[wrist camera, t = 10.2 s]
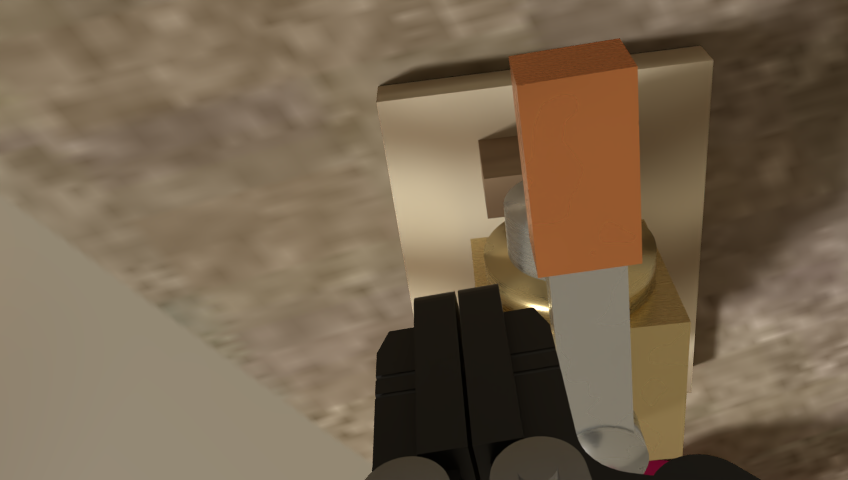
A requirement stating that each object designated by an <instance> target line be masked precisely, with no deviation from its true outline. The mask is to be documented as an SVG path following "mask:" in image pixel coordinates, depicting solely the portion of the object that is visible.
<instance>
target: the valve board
mask: <svg viewBox="0 0 848 480" xmlns="http://www.w3.org/2000/svg"><path fill="white" fill-rule="evenodd" d="M630 55H631V57H632V58H633V60H634V61H635V63H636V65H637V66H638V104H639V144H640V185H641V219H644V220H645V222H646V224H647V227H648V229H649V230H650V231H651V233H652V234H653V236H654V238H655V241H656V246H657V249H658V251H659V253H660V255H661V257H662V259H663V262H664V264H665V266H666V268H667V270H668V273H669V275H670V277H671V279H672V281H673V284H674V286H675V288H676V290H677V292H678V295H679V297H680V299H681V301H682V303H683V306H684V308H685V310H686V312H687V314H688V316H689V319H690V321H691V330H690V345H689V361H688V377H687V393H690V392H691V386H692V371H693V356H694V342H695V327H696V312H697V297H698V282H699V267H700V252H701V237H702V223H703V208H704V193H705V178H706V163H707V148H708V133H709V119H710V104H711V89H712V74H713V59H712V58H711V57H710V56H709V54H708V53H707V52H706V51H705V50H704V49H703V48H702V46H694V47H686V48H678V49H670V50H662V51H654V52H646V53H638V54H630ZM376 103H377V109H378V114H379V120H380V126H381V132H382V137H383V143H384V149H385V155H386V160H387V166H388V172H389V177H390V183H391V189H392V195H393V200H394V206H395V212H396V218H397V223H398V229H399V235H400V241H401V246H402V252H403V258H404V264H405V269H406V275H407V281H408V287H409V292H410V298H411V304H412V310H413V315H414V298H417V297H423V296H429V295H435V294H441V293H446V292H452V291H455V294H456V297H457V301H458V290H463V289H468V288H474V287H475V279H474V269H473V260H472V250H471V241H470V239H474V238H483V237H489V236H490V234H491V233H492V232H493V231H494V230H495V229H496V228H497V227H498V226H499V225H500V224H502V223H503V222H504V221H505V215H504V199H505V197H506V195H507V193H508V192H509V191H510V190H511V189H512V188H513V187H514V186H515V185H516V184H518V183H519V182H521V181H523V177H522V169H521V160H520V151H519V142H518V134H517V125H516V116H515V108H514V99H513V90H512V81H511V73H510V70H504V71H496V72H488V73H480V74H472V75H464V76H457V77H449V78H441V79H433V80H425V81H417V82H409V83H401V84H393V85H386V86H378V92H377V101H376ZM458 306H459V301H458Z"/></svg>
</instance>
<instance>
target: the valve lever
mask: <svg viewBox="0 0 848 480" xmlns="http://www.w3.org/2000/svg"><path fill="white" fill-rule="evenodd" d="M509 64H510V73H511V81H512V90H513V99H514V108H515V116H516V125H517V134H518V142H519V151H520V160H521V169H522V177H523V186H524V195H525V204H526V212H527V221H528V230H529V238H530V243H531V248H532V253H533V257H534V262H535V266H536V271H537V275H538V278H543V277H546V285H547V295H548V304H549V314H550V323H551V331H552V335H553V339H554V343H555V348H556V351H557V356H558V360H559V364H560V369H561V372H562V376H563V380H564V385H565V389H566V393H567V397H568V401H569V405H570V409H571V414H572V418H573V422H574V426H575V430H576V434H577V437H578V440H579V442H580V444H581V446H582V447H583V449H584V450H585V451H586V452H587V453H588V454H589V455H590V456H591V457H592V458H593V459H595V460H596V461H598V462H599V463H601V464H603V465H605V466H607V467H610V468H613V469H616V470H619V471H624V472H630V473H637V474H644V472H645V471H646V469H647V466H648V463H649V453H648V450H647V447H646V444H645V440H644V437H643V434H642V431H641V428H640V425H639V421H638V418H637V415H636V413H635V412H634V410H633V392H632V364H631V337H630V310H629V282H628V266H629V265H636V264H642V225H641V185H640V144H639V104H638V66H637V65H636V63H635V61H634V60H633V58H632V57H631V55H630V54H629V52H628V50H627V49H626V47H625V46H624V44H623V43H622V41H621V40H620V38H619V39H613V40H606V41H600V42H594V43H588V44H582V45H576V46H570V47H563V48H557V49H551V50H545V51H539V52H533V53H527V54H520V55H514V56H509Z"/></svg>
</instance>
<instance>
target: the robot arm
mask: <svg viewBox="0 0 848 480" xmlns="http://www.w3.org/2000/svg"><path fill="white" fill-rule="evenodd" d="M458 301H459V306H458ZM458 301H457V297H456V294H455V291H452V292H446V293H441V294H435V295H429V296H423V297H417V298H414V327H413V328H407V329H402V330H396V331H390V332H389V333H388V335H387V336H386V338H385V340H384V342H383V344H382V345H381V347H380V349H379V351H378V352H377V362H376V379H377V381H376V389H375V396H376V399H375V416H374V443H373V467H372V472H371V473H370V474H369V475H368V477H367V478H366V479H365V480H760V479H759V478H757V477H755V476H753V475H752V474H750V473H748V472H747V471H745V470H743V469H741V468H740V467H738V466H736V465H735V464H733V463H731V462H729V461H727V460H724V459H721V458H718V457H715V456H710V455H700V454H695V455H686V456H681V457H678V458H675V459H672V460H670V461H669V462H667V463H665V464H664V465H662V466H661V467H660V468H659V469H658V470H657V471H656V472H655V474H654V475H645V474H637V473H630V472H624V471H619V470H616V469H613V468H610V467H607V466H605V465H603V464H601V463H599V462H598V461H596V460H595V459H593V458H592V457H591V456H590V455H589V454H588V453H587V452H586V451H585V450H584V449H583V447H582V446H581V444H580V442H579V440H578V437H577V434H576V430H575V426H574V422H573V418H572V414H571V409H570V405H569V401H568V397H567V393H566V389H565V385H564V380H563V376H562V372H561V369H560V364H559V360H558V356H557V351H556V348H555V343H554V339H553V335H552V331H551V327H550V324H549V323H548V322H547V321H546V320H545V319H544V318H543V317H542V316H541V315H540V314H539V313H538V311H537V310H536V309H535V308H534V307H530V308H524V309H519V310H513V311H507V312H503V307H502V301H501V296H500V291H499V285H498V283H497V284H492V285H486V286H480V287H474V288H468V289H463V290H458Z"/></svg>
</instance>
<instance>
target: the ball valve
mask: <svg viewBox="0 0 848 480" xmlns="http://www.w3.org/2000/svg"><path fill="white" fill-rule="evenodd" d="M504 215H505V221H504V222H503V223H502V224H500V225H499V226H498V227H497V228H496V229H495V230H494V231H493V232H492V233H491V234H490V236H489V237H483V238H474V239H470V241H471V250H472V260H473V269H474V279H475V287H480V286H486V285H492V284H497V283H498V285H499V291H500V296H501V301H502V307H503V312H507V311H513V310H519V309H524V308H530V307H534V308H535V309H536V310H537V311H538V313H539V314H540V315H541V316H542V317H543V318H544V319H545V320H546V321H547V322H548V323H549V324H550V327H551V323H550V314H549V304H548V295H547V285H546V277H543V278H538V275H537V271H536V266H535V262H534V257H533V253H532V248H531V243H530V238H529V230H528V221H527V212H526V204H525V195H524V186H523V181H521V182H519V183H518V184H516V185H515V186H514V187H513V188H512V189H511V190H510V191H509V192H508V193H507V195H506V197H505V199H504ZM641 225H642V264H636V265H629V266H628V282H629V310H630V337H631V364H632V392H633V410H634V412H635V413H636V415H637V418H638V421H639V425H640V428H641V431H642V434H643V437H644V440H645V444H646V447H647V450H648V453H649V461H651V460H662V459H672V458H678V457H681V456H683V440H684V425H685V409H686V393H687V377H688V361H689V345H690V330H691V321H690V319H689V316H688V314H687V312H686V310H685V308H684V306H683V303H682V301H681V299H680V297H679V295H678V292H677V290H676V288H675V286H674V284H673V281H672V279H671V277H670V275H669V273H668V270H667V268H666V266H665V264H664V262H663V259H662V257H661V255H660V253H659V251H658V249H657V246H656V241H655V238H654V236H653V234H652V233H651V231H650V230H649V229H648V227H647V224H646V222H645V220H644V219H641Z"/></svg>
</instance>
